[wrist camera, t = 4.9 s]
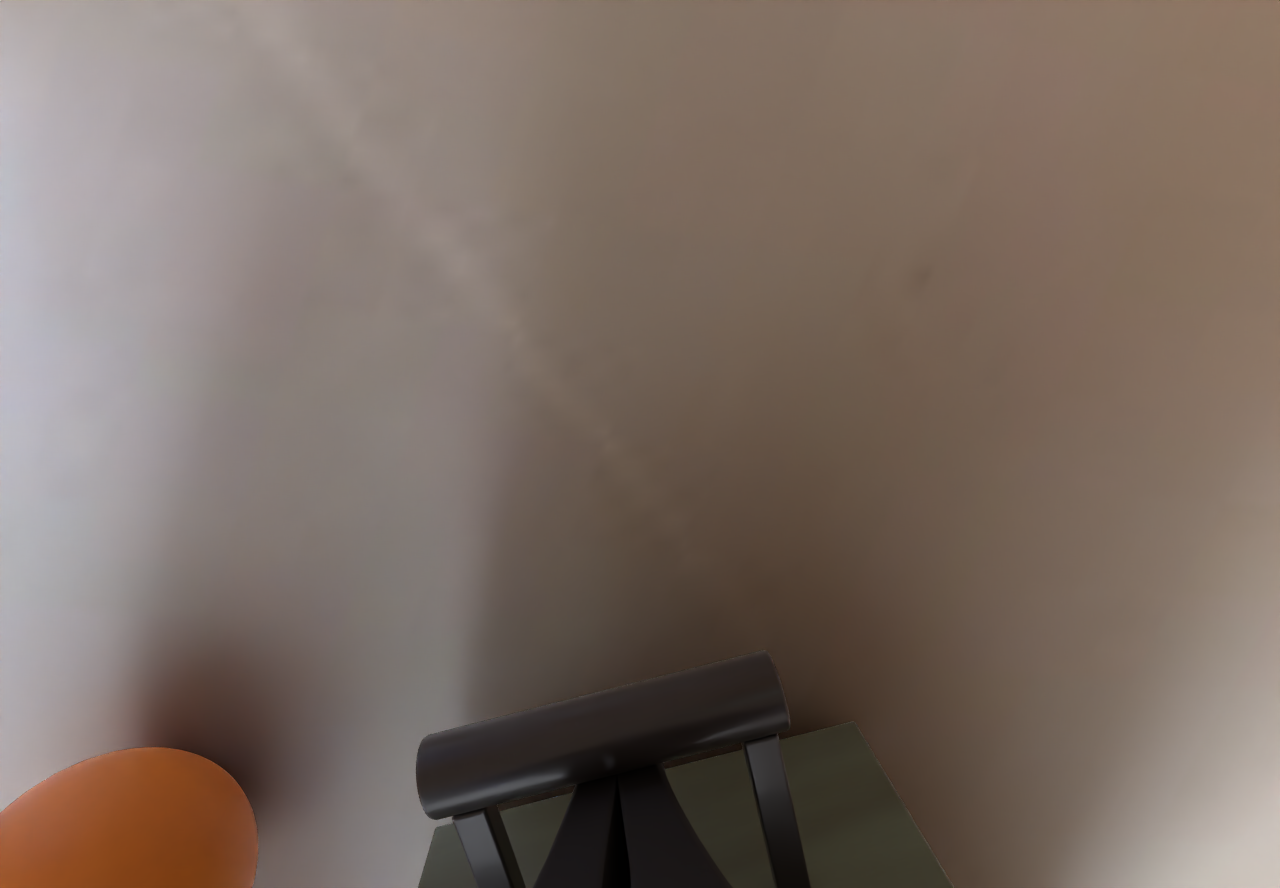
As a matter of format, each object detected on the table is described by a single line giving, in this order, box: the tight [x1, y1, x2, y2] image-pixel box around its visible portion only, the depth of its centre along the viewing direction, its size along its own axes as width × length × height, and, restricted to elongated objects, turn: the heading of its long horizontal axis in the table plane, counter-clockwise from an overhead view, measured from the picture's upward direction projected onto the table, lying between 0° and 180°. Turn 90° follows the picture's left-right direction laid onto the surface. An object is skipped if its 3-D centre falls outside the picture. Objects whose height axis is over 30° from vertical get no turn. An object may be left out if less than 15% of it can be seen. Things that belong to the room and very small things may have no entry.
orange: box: [0, 747, 258, 888], centre depth 13 cm, size 5×5×5 cm
